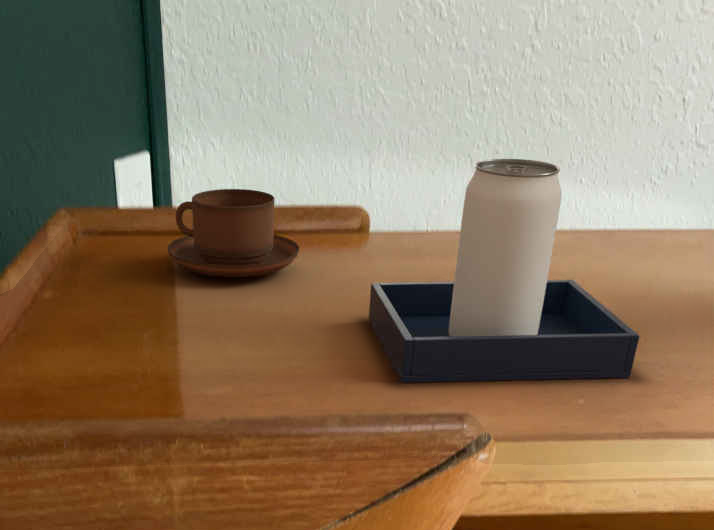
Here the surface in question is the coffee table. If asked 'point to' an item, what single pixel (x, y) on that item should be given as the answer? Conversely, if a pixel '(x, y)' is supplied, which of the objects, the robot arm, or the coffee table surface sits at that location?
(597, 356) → the tray
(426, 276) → the coffee table surface
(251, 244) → the cup and saucer
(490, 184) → the can
